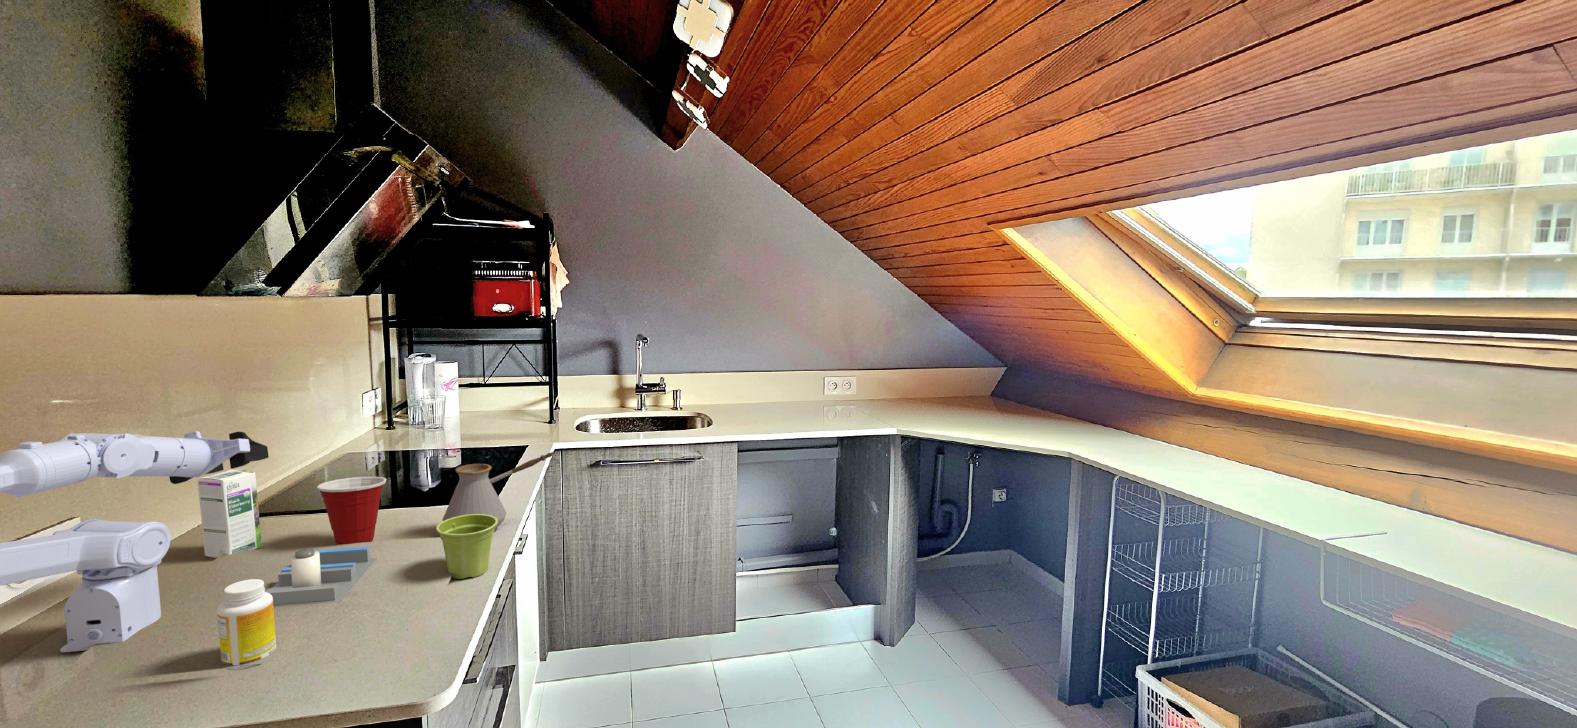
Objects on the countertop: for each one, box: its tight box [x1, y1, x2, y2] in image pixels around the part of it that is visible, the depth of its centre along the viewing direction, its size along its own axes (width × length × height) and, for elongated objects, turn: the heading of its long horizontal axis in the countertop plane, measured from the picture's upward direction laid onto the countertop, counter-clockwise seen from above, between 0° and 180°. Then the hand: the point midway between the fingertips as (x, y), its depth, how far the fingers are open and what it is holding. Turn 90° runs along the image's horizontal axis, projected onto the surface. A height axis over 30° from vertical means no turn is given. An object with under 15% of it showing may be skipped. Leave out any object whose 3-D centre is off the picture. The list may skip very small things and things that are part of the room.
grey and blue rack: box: [265, 546, 378, 608], centre depth 105 cm, size 16×12×3 cm
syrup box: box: [197, 469, 263, 559], centre depth 116 cm, size 6×6×14 cm
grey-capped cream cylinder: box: [290, 548, 321, 588], centre depth 100 cm, size 4×4×7 cm
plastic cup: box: [316, 476, 387, 545], centre depth 122 cm, size 11×11×12 cm
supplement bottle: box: [216, 578, 277, 671], centre depth 84 cm, size 6×6×10 cm
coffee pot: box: [442, 451, 557, 531], centre depth 131 cm, size 21×12×15 cm, turn 113°
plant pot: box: [436, 514, 498, 580], centre depth 111 cm, size 9×9×9 cm
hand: (243, 458), depth 109 cm, fingers open, 7 cm apart
